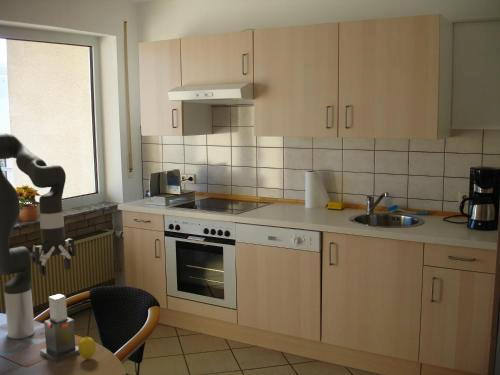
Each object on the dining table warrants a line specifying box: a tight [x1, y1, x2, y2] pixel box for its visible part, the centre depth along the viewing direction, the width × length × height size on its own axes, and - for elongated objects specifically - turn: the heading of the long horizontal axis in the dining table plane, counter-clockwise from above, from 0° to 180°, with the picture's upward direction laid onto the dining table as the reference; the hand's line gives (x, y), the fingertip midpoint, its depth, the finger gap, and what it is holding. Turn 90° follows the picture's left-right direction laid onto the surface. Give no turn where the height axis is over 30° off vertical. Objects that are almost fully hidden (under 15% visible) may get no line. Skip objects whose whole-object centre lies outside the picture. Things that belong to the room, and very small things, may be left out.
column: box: [48, 293, 68, 324], centre depth 186 cm, size 4×4×19 cm
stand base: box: [39, 316, 80, 363], centre depth 186 cm, size 10×10×12 cm
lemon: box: [78, 336, 97, 360], centre depth 182 cm, size 6×6×8 cm
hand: (55, 272), depth 183 cm, fingers open, 8 cm apart
